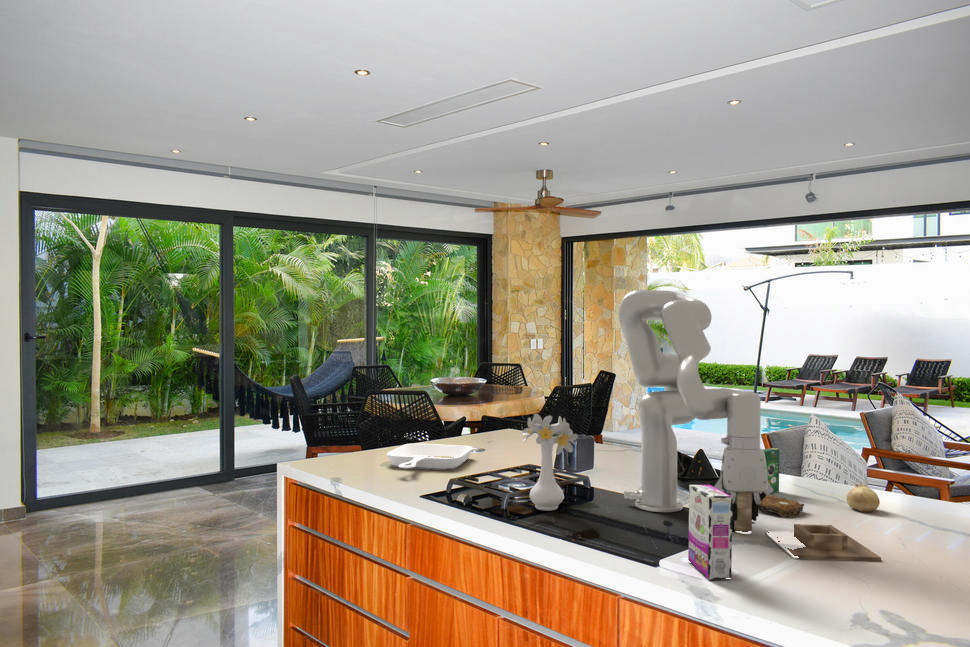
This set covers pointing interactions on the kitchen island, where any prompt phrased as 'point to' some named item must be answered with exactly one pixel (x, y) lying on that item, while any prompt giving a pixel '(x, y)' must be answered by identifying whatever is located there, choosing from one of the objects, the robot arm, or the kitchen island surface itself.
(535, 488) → the flower vase
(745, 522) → the peg
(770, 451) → the coffee box
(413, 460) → the pan
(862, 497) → the onion
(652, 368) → the robot arm
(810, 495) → the kitchen island surface
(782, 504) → the decorative rock
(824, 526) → the socket block
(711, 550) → the candy bar box
